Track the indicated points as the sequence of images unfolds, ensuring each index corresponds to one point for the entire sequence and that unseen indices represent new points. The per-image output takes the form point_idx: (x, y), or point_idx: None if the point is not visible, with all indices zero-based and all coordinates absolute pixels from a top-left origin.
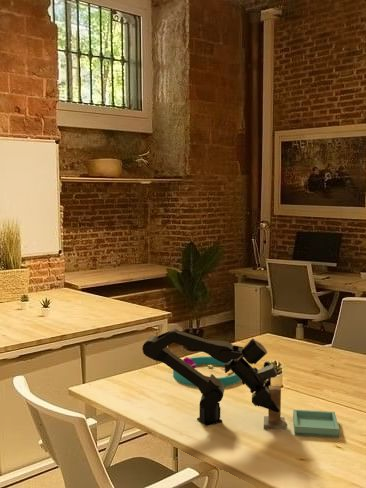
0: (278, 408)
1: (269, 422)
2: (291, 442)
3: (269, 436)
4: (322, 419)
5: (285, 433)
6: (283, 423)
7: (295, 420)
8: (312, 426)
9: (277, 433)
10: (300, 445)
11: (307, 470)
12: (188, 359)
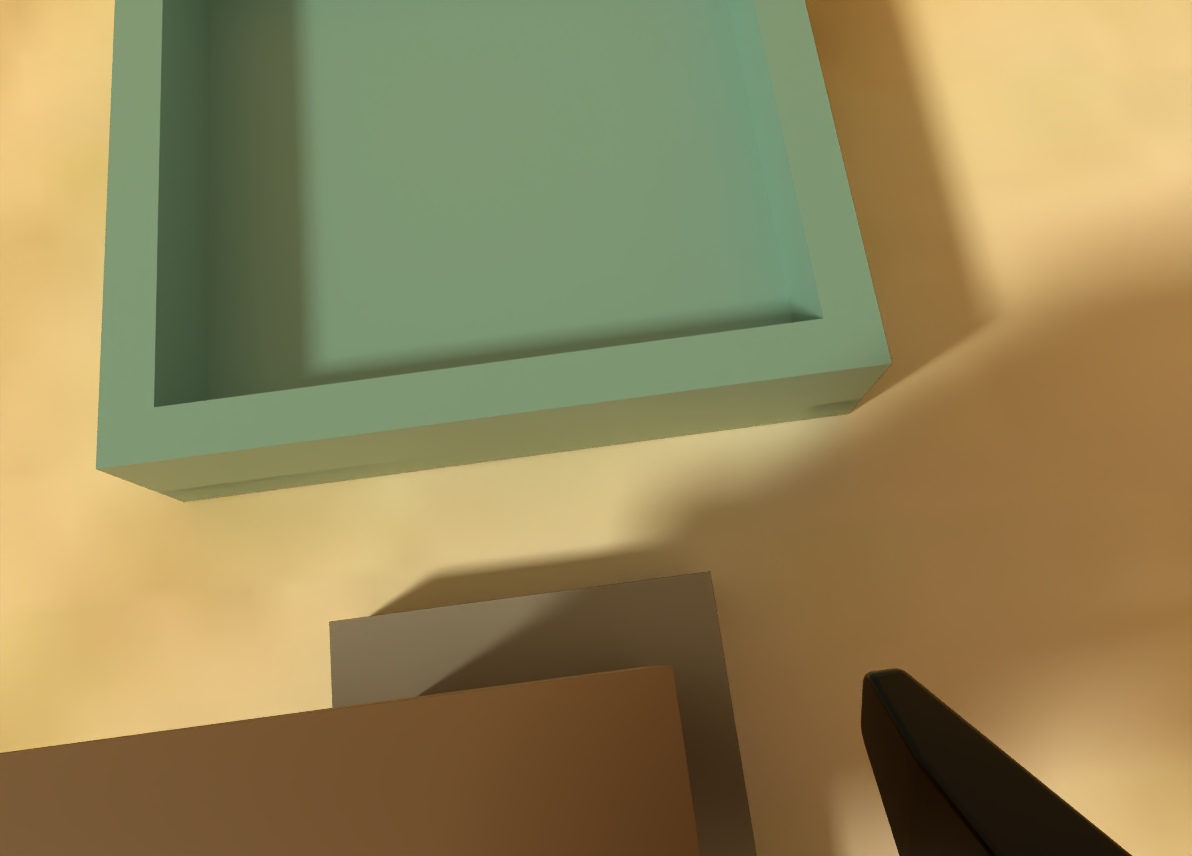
0: (917, 707)
1: None
2: (1114, 433)
3: None
4: (267, 65)
5: (827, 558)
6: (617, 611)
7: (617, 377)
8: (784, 96)
9: None
10: (1155, 303)
11: None
12: None
